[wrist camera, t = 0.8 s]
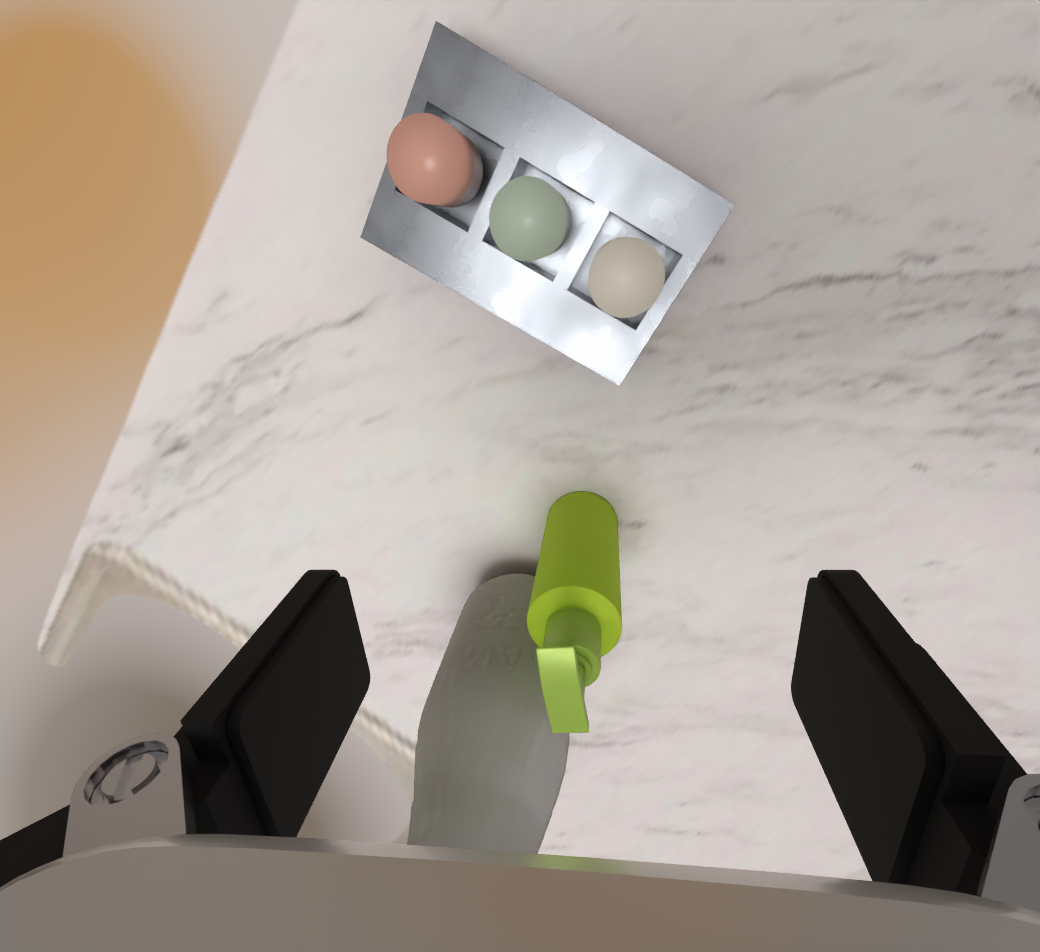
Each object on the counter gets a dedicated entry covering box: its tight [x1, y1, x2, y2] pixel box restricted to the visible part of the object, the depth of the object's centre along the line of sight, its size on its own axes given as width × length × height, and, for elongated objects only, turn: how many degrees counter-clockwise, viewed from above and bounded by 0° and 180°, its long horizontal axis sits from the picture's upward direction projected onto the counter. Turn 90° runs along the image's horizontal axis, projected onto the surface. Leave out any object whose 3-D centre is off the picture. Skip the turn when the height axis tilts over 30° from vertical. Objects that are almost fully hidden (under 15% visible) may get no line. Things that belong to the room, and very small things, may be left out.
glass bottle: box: [407, 574, 569, 854], centre depth 36 cm, size 10×10×28 cm
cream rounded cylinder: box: [588, 237, 665, 318], centre depth 30 cm, size 4×4×5 cm
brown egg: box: [387, 113, 483, 208], centre depth 30 cm, size 4×4×5 cm
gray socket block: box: [361, 21, 735, 385], centre depth 34 cm, size 12×19×4 cm, turn 62°
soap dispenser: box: [527, 492, 622, 733], centre depth 36 cm, size 6×7×20 cm
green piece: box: [489, 176, 571, 261], centre depth 30 cm, size 4×4×5 cm
